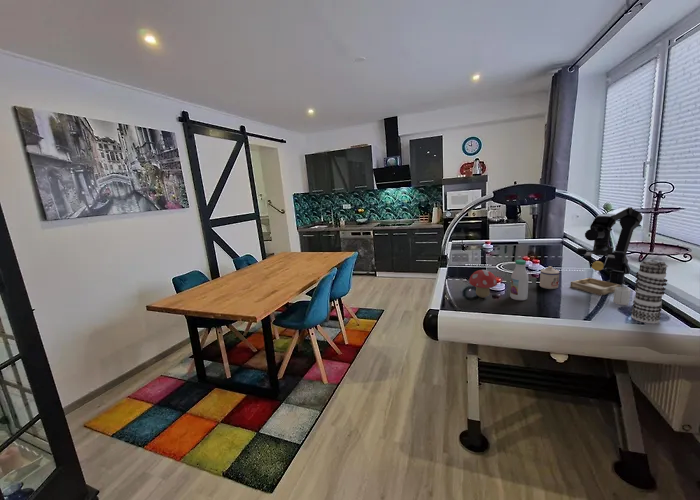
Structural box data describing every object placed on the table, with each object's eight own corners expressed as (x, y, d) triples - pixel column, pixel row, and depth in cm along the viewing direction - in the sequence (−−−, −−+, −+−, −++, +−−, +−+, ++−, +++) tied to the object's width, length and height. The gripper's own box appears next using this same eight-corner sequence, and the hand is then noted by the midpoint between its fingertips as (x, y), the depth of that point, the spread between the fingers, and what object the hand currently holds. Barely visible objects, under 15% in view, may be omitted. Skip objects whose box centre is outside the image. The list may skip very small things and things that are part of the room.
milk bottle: (525, 295, 155) (527, 258, 151) (528, 301, 148) (531, 262, 144) (508, 294, 157) (510, 258, 153) (511, 300, 150) (513, 262, 146)
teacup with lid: (553, 290, 159) (555, 269, 157) (536, 286, 167) (537, 266, 165) (564, 285, 166) (565, 265, 163) (546, 281, 173) (547, 262, 171)
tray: (588, 282, 168) (589, 277, 167) (619, 290, 154) (620, 284, 153) (570, 286, 163) (570, 281, 162) (600, 295, 149) (601, 289, 149)
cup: (617, 300, 142) (619, 286, 141) (631, 303, 138) (633, 289, 136) (610, 302, 141) (612, 288, 139) (623, 305, 136) (625, 291, 134)
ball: (595, 263, 158) (597, 257, 154) (605, 268, 154) (607, 262, 151) (588, 268, 158) (589, 263, 154) (598, 274, 154) (599, 268, 151)
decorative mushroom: (499, 302, 149) (501, 273, 145) (471, 302, 151) (472, 274, 148) (492, 293, 161) (493, 266, 158) (466, 292, 164) (467, 266, 161)
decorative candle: (624, 313, 129) (632, 257, 124) (651, 314, 126) (660, 258, 121) (638, 322, 120) (646, 263, 115) (666, 324, 117) (677, 263, 112)
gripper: (578, 239, 151) (574, 269, 154) (628, 243, 140) (622, 274, 143) (579, 237, 160) (575, 265, 162) (625, 240, 148) (620, 270, 151)
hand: (597, 269), depth 154 cm, fingers closed on ball, 5 cm apart
